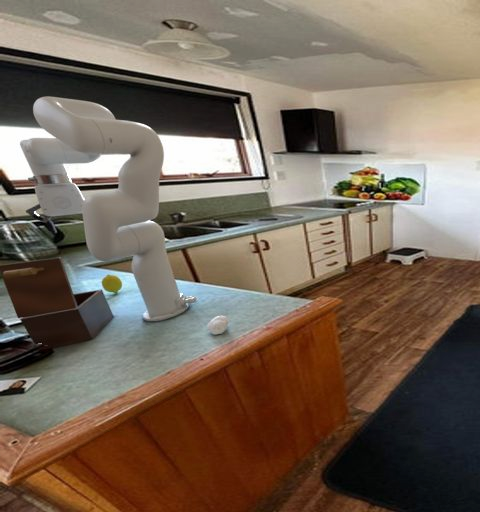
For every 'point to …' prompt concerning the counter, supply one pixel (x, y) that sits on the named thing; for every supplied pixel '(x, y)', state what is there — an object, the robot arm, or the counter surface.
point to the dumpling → (218, 325)
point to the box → (70, 321)
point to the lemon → (111, 283)
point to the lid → (38, 287)
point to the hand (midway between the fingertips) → (75, 230)
